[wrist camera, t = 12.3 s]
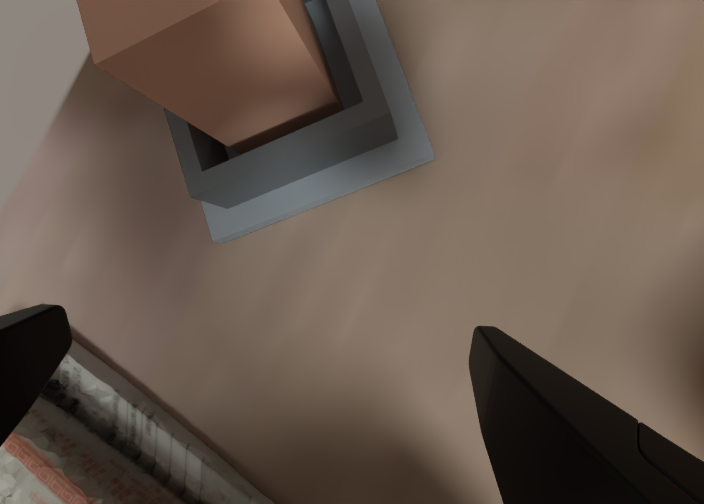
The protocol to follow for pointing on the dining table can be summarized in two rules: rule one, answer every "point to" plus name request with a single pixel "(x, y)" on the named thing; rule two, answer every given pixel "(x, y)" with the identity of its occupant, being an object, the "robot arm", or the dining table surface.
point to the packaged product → (110, 447)
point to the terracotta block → (218, 63)
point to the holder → (314, 134)
